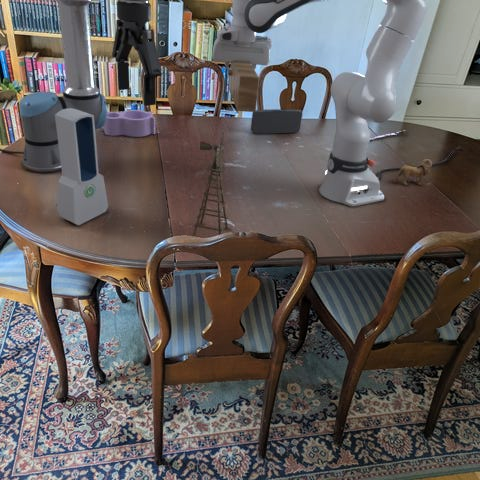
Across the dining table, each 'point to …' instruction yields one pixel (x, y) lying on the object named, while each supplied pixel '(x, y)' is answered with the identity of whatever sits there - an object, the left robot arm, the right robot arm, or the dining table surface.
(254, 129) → the handheld gaming console
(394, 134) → the sword
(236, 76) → the box
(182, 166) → the dining table surface
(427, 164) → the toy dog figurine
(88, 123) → the electronic device
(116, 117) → the purple double bowl
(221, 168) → the miniature windmill
